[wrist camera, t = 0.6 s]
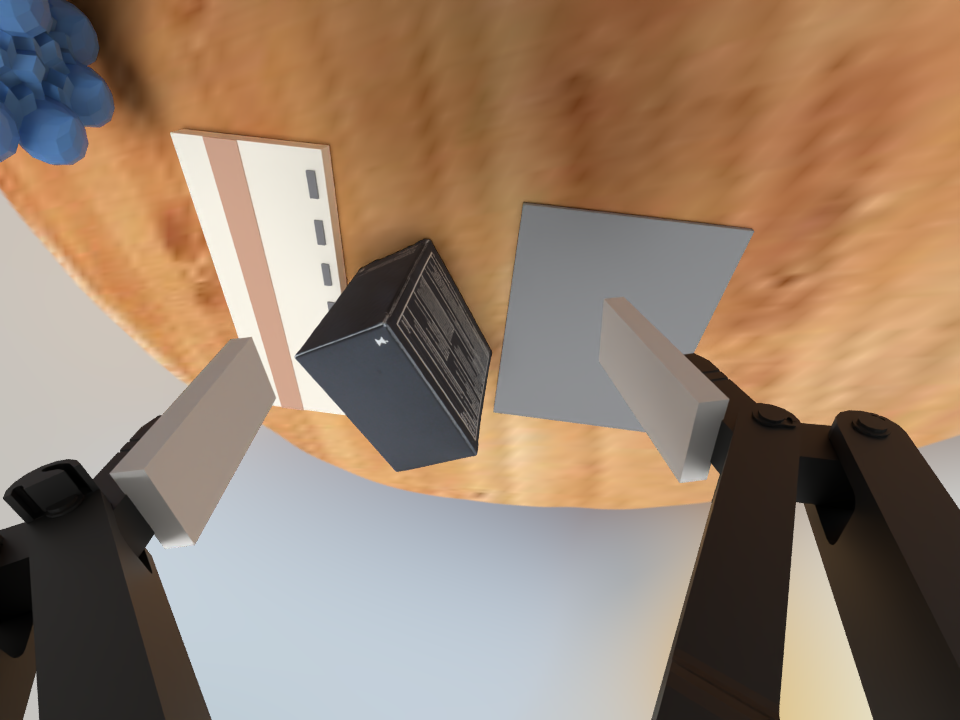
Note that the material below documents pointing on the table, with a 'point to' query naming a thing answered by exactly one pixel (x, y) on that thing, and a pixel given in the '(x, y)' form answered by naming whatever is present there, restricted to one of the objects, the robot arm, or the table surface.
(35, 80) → the blue bumpy cluster
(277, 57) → the table surface
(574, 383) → the mat
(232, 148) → the board
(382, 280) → the small box
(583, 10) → the table surface
